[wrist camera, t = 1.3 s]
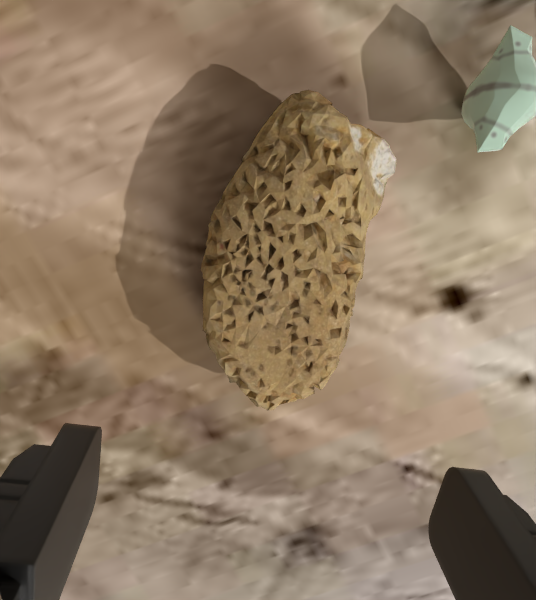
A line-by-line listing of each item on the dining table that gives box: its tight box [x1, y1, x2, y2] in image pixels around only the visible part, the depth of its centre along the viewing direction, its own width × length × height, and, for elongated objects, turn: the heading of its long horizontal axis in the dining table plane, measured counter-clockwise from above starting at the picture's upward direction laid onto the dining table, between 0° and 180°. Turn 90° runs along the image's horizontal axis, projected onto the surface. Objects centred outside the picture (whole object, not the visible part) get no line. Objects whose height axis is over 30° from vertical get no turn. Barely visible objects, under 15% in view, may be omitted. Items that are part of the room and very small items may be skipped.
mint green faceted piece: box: [461, 25, 536, 152], centre depth 33 cm, size 8×4×7 cm, turn 168°
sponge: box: [201, 90, 397, 410], centre depth 33 cm, size 13×8×20 cm
